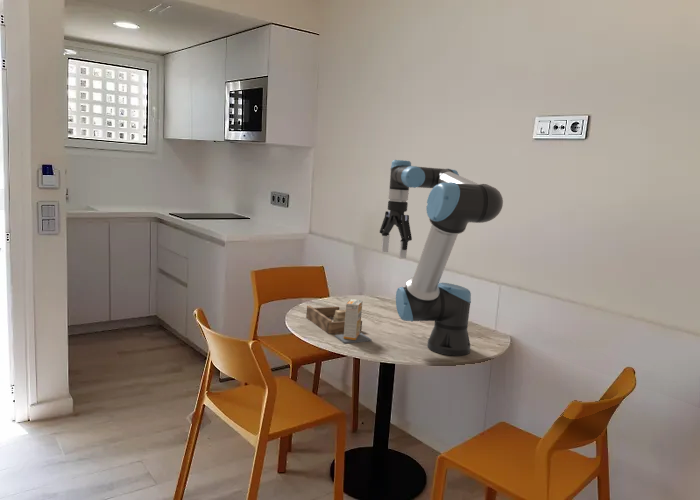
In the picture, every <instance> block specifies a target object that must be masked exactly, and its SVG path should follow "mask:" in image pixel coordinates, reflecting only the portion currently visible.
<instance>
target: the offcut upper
mask: <svg viewBox="0 0 700 500" xmlns="http://www.w3.org/2000/svg"><path fill="white" fill-rule="evenodd" d="M345 313H346V309H339V310H335V317H336V318H345Z"/></svg>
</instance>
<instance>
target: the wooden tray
mask: <svg viewBox="0 0 700 500" xmlns="http://www.w3.org/2000/svg"><path fill="white" fill-rule="evenodd" d="M335 310H340V306H323V307H321V306H320V307H312V306H311V305H307V306H306V317H305V318H306V319H307V320H309V321H310V322H311V323H313V324H314V325H315V326H317V327H318V328H320V329H321V330H322V331H324V332H325V333H327V334H328V335H329V334H340V333H341V334H342V333H343V334H344V326H345V321H339V322H333V320H332V319H331V318H334V315H335ZM362 327H363V320H361V326H360V332H362V330H363V329H362Z"/></svg>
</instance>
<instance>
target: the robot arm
mask: <svg viewBox="0 0 700 500" xmlns="http://www.w3.org/2000/svg"><path fill="white" fill-rule="evenodd" d="M389 176H390V177H389V189H388V203H387V211H385V213H384V218H383V219H382V220H383V221H382V223H381V226H380V229H379V233H380V234H381V237H382V240H381V249H380V251H381V253H388V252H389V243H390V232H391V231H392V229H393V228H394V226H396V227H397V229H398V232H399V235H400V243H399V253H398V254H399V255H398V258H399V259H407V252H408V251H407V250H408V243H409V241H412V239H413V238H412V232H411V226H410V215H408V214H405V212H407V211H408V205H409V204H408V202H407V201H408V200H409V191H410V188H414V189H415V188H419V189H421V188H423V189H431V190H430V192H429V193H428V197H427V201H426V203H427V205H426V210H425V211H426V214H427V217H428V220H429V222H430V224H431V226H430V230H429V232H428V235H427V238H426V241H425V243H424V245H423V249H422V252H421V254H420V257H419V261H418V263H417V266H416V269H415V272H414V274H413V277H411V278H409V279H408V280H407V281H406V284H405V285H404V287H403V286H401V287H398V288H397V289H396V291H395V306H396V311H397V312H396V313H397V314H398V317H399V318H400V319H401V320H402V321H405V322H434V326H433V328H432V330H431V333H430V335H429V338H428V339H427V345H426V346H427V348H428V349H429V350H430V351H432V352H434V353H437V354H442V355H444V356H445V355H446V356H447V355H448V356H456V357H457V356H466V355H468V354H470V353H471V342H470V337H469V332H468V331H469V330H468V326H469V325H468V324H469V318H470V308H471V303H472V298H471V296H472V293H471V291H470V290H469V288H466V287H464V286H461V285H458V284H454V283H448V282H441V278H442V276H443V273H444V272H445V271H444V270H445V268H446V266H447V263H448V260H449V258H450V255H451V253H452V251H453V247H454V246H455V243H456V241H457V237H458V235H459V234H462V233H464V232H465V230H466V228H467V225H468V224H469V223H474V224H475V223H478V224H479V223H480V224H481V223H487V222H490V221H492V220H494V219H495V218H496V217H497V216H498V215H500V213H501V211H502V209H503V206H504V205H503V204H504V200H503V199H504V198H503V196H502V193H501V192H500V191H499V190H498V188H496V187H494V186H491V185H489V184H488V183H487V184H486V183H480V184H479V183H477V182H474V181H473V180H470V179H468V178H466V177H464V176H461V175H460V174H459V172H458V171H457V170H456V169H452V168H436V167H426V166H417V165H412V162H411V161H410V160H403V159H402V160H401V159H393V160H392V161H391V166H390V175H389Z"/></svg>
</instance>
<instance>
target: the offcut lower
mask: <svg viewBox="0 0 700 500" xmlns="http://www.w3.org/2000/svg"><path fill="white" fill-rule="evenodd" d="M339 321H345V318H336V317H335V315H334V317H333V320H332V322H339Z"/></svg>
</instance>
